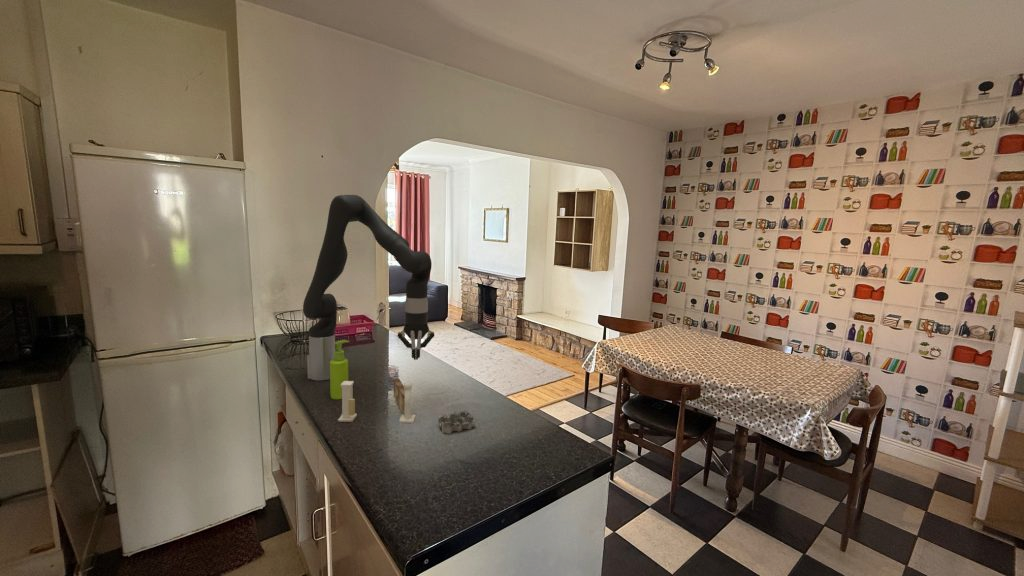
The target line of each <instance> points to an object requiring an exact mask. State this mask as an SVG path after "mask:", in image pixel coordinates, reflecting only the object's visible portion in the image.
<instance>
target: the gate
mask: <svg viewBox="0 0 1024 576" xmlns="http://www.w3.org/2000/svg"><path fill="white" fill-rule="evenodd" d="M392 382H393V398H394V400H395V402H396V403H397V405H398V407H399V409H400V410H401V413H402V414H404V405H405V389H404V383H403V382H402V381H401V379H400V378H393V379H392Z"/></svg>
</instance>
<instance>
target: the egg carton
mask: <svg viewBox="0 0 1024 576" xmlns="http://www.w3.org/2000/svg"><path fill="white" fill-rule="evenodd" d="M436 419H437V421H438V423H437V425H438V428H439V429H441V433H442V434H447V435H449V434H452V432H454V431H455V432H461V431H462V430H464V429H466V430H472V428H473V427H474V422H476V419H474V416H472V414H471V412H470V411H469V410H468V409H464V410H462V411H458V412H457V411H454V412H450V413H441V414H440V415H438V417H437V418H436Z"/></svg>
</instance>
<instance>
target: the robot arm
mask: <svg viewBox="0 0 1024 576" xmlns="http://www.w3.org/2000/svg"><path fill="white" fill-rule="evenodd" d="M327 216H328V217H327V223H326V229H325V232H324V237H323V240H322V241H323V242H322V245H321V248H320V251H319V253H318V254H319V255H318V258H317V263H316V266H315V271H314V274H313V277H312V280H311V283H310V285H309V287H308V290H307V291H306V295H305V298H304V299H303V303H302V311H303V315H304V317H305V318H306V319H309V320H318V322H317V323H315V324H313V325H312V326H311V327H309V329H308V344H309V345H308V347H309V354H307V356H306V359H307V361H306V362H307V363H306V366H307V368H306V369H307V380H308V379H309V380H312V381H317V382H318V381H319V382H320V381H327V380H330V361H331V360H333V359H334V351H335V350H336V345H335V344H334V342H336V329H337V317H338V316H337V315H338V305H337V299H336V297H335V296H334V295H333V294H332V293H325V292H326V291H327V290H328V288H329V287H331V285H332V284H333V283H334V282H335V281H336V280H337V279H338V278H339V277H340V276H341V275H342V274H343V272H344V270H345V267H346V264H347V259H348V249H347V246H346V243H345V233H346V229H347V227H348V224H349V223H352V222H359V223H361V224H362V225H364V226H366V227H367V228H368V229H369V230H370V232H372V234H373V237H374V239H375V240H376V242H377V244H378V245H380V247H381V248H382V249H384V250H385V251H386V252H388V253H389V254H390V255H392V256H393V258H394V259H395V260H396V262H397V263H398V264H399V266H400V267H401V269H403V270H404V271H406V272H408V273H411V278H410V279H408V281H406V285H405V286H406V287H405V303H404V305H405V306H404V327H403V329H402V330H401V331H399V332H397V334H396V335H397V337H398V339H399V340H400V341H401V342H402V343H403V345H404V346H405V347H406V348H408V349H410V350H411V358H412V359H413V360H414V361H417V360H418V359H420V357H421V349H423V348H426V347H427V345H428V344H429V343H430V341H432V339H433V338H434V337H435V332H434V331H432V330H431V329H430V327H429V326H428V317H429V316H428V315H429V314H428V313H429V303H428V282H429V281H430V280H429V279H430V275H431V271H432V258H431V256H430V254H429V253H427V251H424V250H419V251H414V250H413V249H411V248H410V243H409V241H408V240H407V238H404V237H403V236H402V235H401V234H400V233H398V232H397V231H396V230H395V229H393V228H392V227H391V226H389V225H388V223H386V222H385V221H384V220H383V219H382V218H381V216H380V215H379V214H378V213H377V212H376V211H375V209H373V208H372V207H371V206H370V204H369V203H368V202H367V200H365V199H364V198H363V197H361V196H359V195H357V194H341V195H340V194H339V195H336V196H334V198H333V199H332V200H331V203H330V206H329V209H328V215H327ZM319 319H320V320H319ZM406 336H407V337H408V338H409V339H410V341H411V342H409V340H408V339H407V338H406ZM425 336H427V337H426V338H424V337H425ZM422 339H424V340H423V342H422Z"/></svg>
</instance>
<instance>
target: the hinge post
mask: <svg viewBox="0 0 1024 576" xmlns="http://www.w3.org/2000/svg"><path fill="white" fill-rule="evenodd" d="M403 385H404V389H405V405H404V414H403V413H402V414H401V416H400V418H399V421H398V423H399V424H400V423H401V424H403V423H404V424H414V421H415V420H416V416H417V415H416V414H411V413H412V389H413V384H412V382H411V381H406V382H405V383H403Z"/></svg>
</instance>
